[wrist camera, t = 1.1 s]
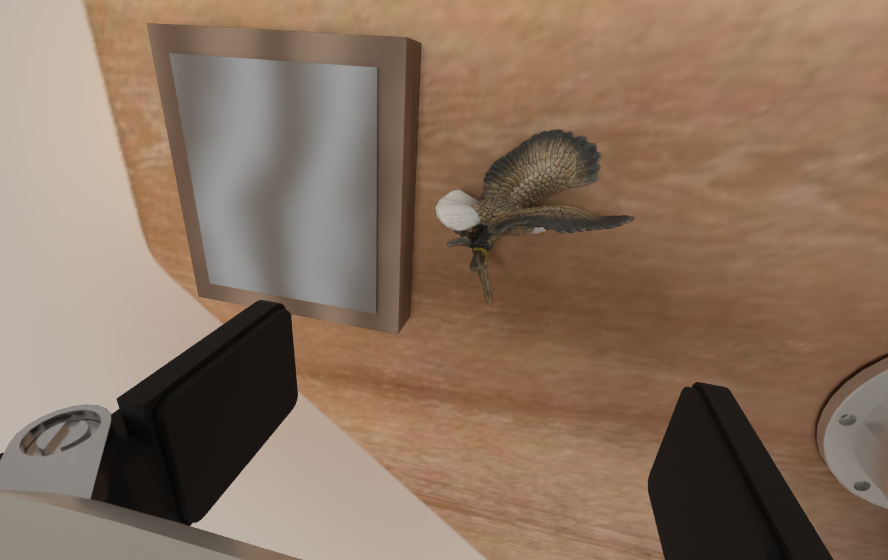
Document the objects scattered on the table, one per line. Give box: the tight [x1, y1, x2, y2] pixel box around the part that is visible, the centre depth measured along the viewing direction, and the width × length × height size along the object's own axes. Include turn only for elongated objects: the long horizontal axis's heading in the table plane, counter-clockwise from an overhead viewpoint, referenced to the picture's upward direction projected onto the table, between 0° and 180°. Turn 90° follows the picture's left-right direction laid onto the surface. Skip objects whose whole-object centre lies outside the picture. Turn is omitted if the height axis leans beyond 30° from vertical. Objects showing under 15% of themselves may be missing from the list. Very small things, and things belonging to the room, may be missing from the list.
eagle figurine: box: [435, 129, 635, 303], centre depth 24 cm, size 8×7×9 cm
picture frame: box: [147, 23, 421, 334], centre depth 28 cm, size 16×18×3 cm
